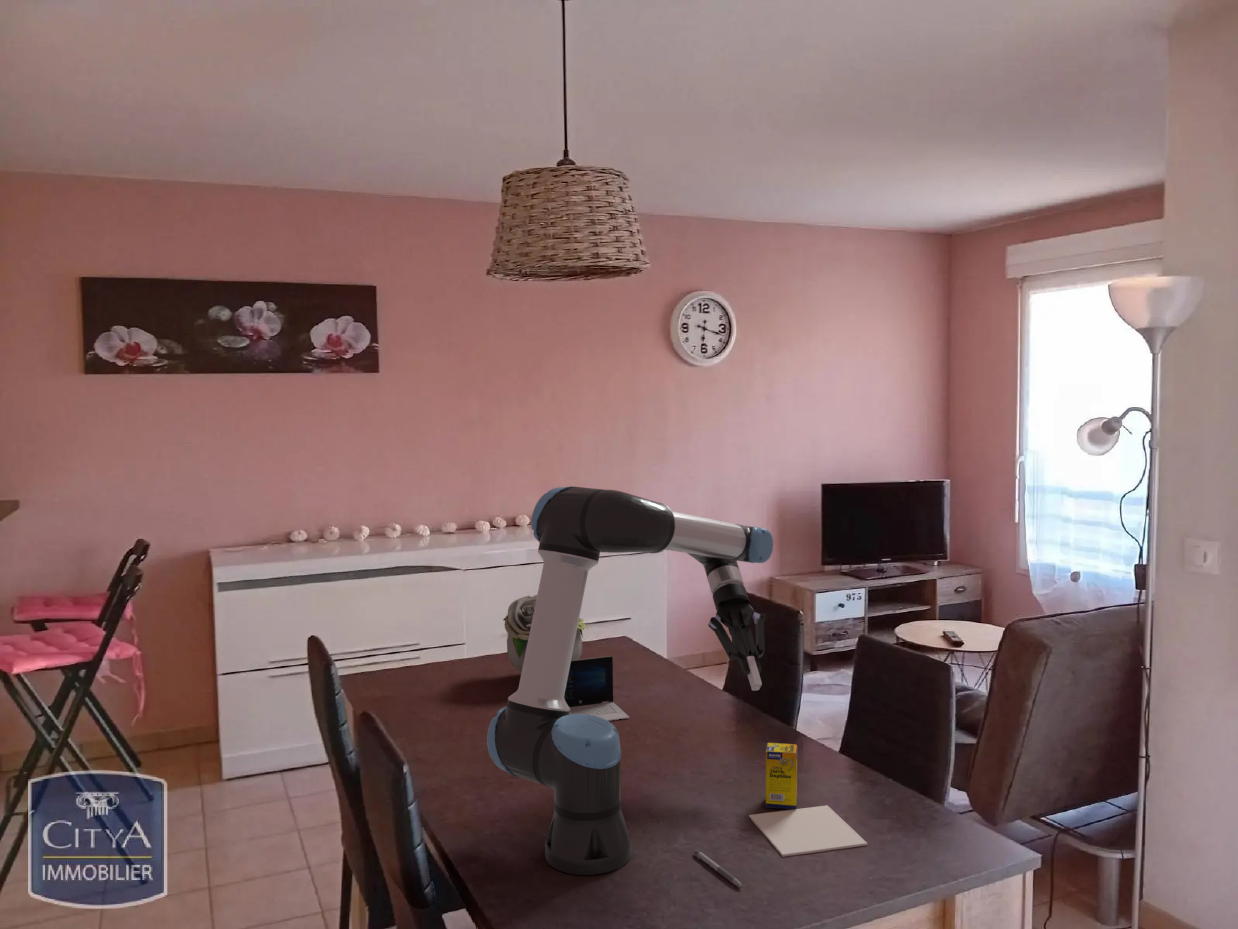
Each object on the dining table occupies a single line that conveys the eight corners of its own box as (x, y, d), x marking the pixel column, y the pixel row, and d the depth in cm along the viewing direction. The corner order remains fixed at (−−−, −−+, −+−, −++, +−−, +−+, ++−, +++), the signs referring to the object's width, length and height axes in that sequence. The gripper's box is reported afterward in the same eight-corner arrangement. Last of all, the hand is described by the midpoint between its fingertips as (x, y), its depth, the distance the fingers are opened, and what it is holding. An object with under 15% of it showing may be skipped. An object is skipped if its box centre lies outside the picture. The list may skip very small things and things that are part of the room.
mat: (867, 845, 169) (867, 843, 169) (782, 856, 165) (782, 854, 165) (827, 807, 184) (827, 805, 184) (749, 817, 180) (749, 815, 180)
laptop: (559, 729, 230) (558, 676, 229) (546, 713, 242) (545, 663, 241) (629, 720, 236) (628, 668, 235) (613, 704, 248) (612, 655, 247)
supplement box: (796, 810, 182) (796, 753, 182) (765, 808, 183) (765, 751, 183) (797, 799, 188) (797, 744, 188) (766, 797, 189) (766, 742, 189)
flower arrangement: (494, 694, 257) (492, 604, 255) (508, 667, 282) (506, 585, 280) (586, 693, 256) (584, 604, 254) (592, 667, 281) (590, 585, 279)
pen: (697, 855, 167) (697, 847, 167) (744, 891, 155) (744, 882, 154) (692, 856, 166) (692, 848, 166) (739, 892, 154) (739, 884, 154)
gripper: (751, 598, 216) (781, 693, 201) (696, 602, 213) (723, 699, 198) (760, 579, 211) (791, 675, 196) (704, 583, 208) (731, 681, 193)
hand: (757, 687), depth 197 cm, fingers closed
